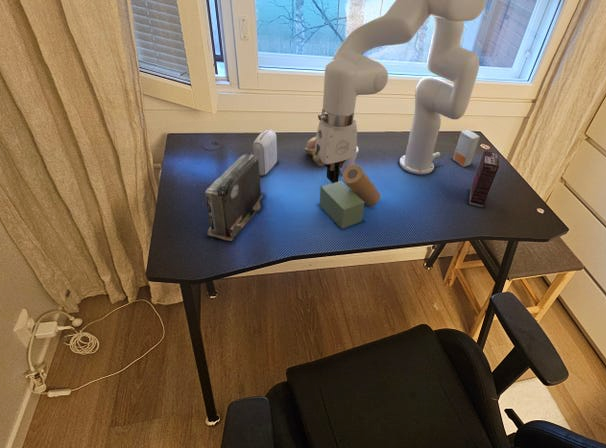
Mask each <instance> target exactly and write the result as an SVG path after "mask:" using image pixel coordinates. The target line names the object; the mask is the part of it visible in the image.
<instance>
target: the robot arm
mask: <svg viewBox="0 0 606 448" xmlns="http://www.w3.org/2000/svg"><path fill="white" fill-rule="evenodd" d="M486 5H487V0H395V1H394V2H393V3H392V5H391V6H390V7H389V9H388V10H387V11H386V13H384V14H383V15H381V16H380V17H377V18H374V19H372V20H370V21H368V22H366V23H364V24H362V25H360V26H358V27H357V28H355V29H354V30H352V31H351V32H350V33H348V35H347V36H346V38H345V39H344V40H343V41H342V43H341V44H340V46H339V47H338V48H337V49H336V51H335V53H334V55H333V57H332V60H331V61H329V62H327V63H326V64H325V68H324V78H323V79H324V80H323V96H322V97H323V98H322V109H321V113H320V114H318V115H317V117H318V118H317V119H318V120H319V122H318V126H317V131H316V134H315V135H316V136H315V137H316V142H315V156H316V161H314V164H315V163H316V164H315V165H317V166H318V167H324V166H325V167H326V179H327V180H328V181H330V183H335V182H338V181H340V180H339V179H340V174H341V168H342V166H343V164H344V162H345V161H346V160H348V159H351V158H353V157H354V156H355V155H356V149H357V147H358V128H357V121H356V120H355V119H354V118H355V112H356V102H357V97H358V96H368V95H369V96H370V95H375V94H378V93H380V92H382V91H383V90H384V89H385V87H386V85H387V84H388V81H389V73H388V70H387V68H386V67H385V66H384V65H383V64H382V63H381V62H379V61H377V60H375V59H373V58H370V57H367V56H366V55H364V54H366V53H368V52H369V51H370V50H373V49H376V48H379V47H387V46H388V47H389V46H396V45H403V44H404V45H405V44H407V43H410V42H411V41H412V40H413V38H414V37H415V35H417V33H418V32H419V30H420V29H421V28H422V26H423V25H424V24H425V22H426V21H427V20H428V18H429V17H430V16H433V20H434V21H433V22H434V23H433V31H432V36H431V40H430V45H429V49H428V54H427V60H426V68H427V70H428V71H429V72H430V73H432V74H433V75H435V76H438V77H434V76H424V77H422V78H421V79H419V81H418V83H417V84H416V87H415V90H414V108H413V109H414V110H413V117H412V121H411V126H410V131H409V136H408V140H407V144H406V151H405V154H403V155H402V156H400V158H399V166H400V167H401V168H402V169H403V170H405V171H406V172H407V173H411V174H415V175H421V176H423V175H429V174H430V173H432V172H433V171H434V169H435V163H434V162H433V161H434V160H435V159H438V158H440V157H441V153H440V152H439V151H437V152H435V153H434V151H435V148H436V144H437V141H438V136H439V133H440V129H441V125H442V119H441V118H442V117H441V116H443V117H446V118H447V119H450V120H459V119H460V118H462V117H463V116H464V115H465V113H466V111H467V109H468V106H469V103H470V101H471V97H472V94H473V90H474V88H475V83H476V80H477V78H478V74H479V70H480V59H479V56H478V55H477V53H475V52H474V51H472V50H469V49H467V48H464V47H462V46H461V41H462V39H463V38H462V37H463V33H464V28H465V24H464V23H465V22H471V21H473V20H476V19H478V17H480V15H481V14H482V13H483V11H484V9H485V7H486ZM439 77H440V78H439ZM441 78H443V79H446V80H447V81H450V82H452V83H453V84H452V83H449V82H447V81H445V80H443V79H441Z"/></svg>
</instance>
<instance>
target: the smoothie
mask: <svg viewBox="0 0 606 448" xmlns="http://www.w3.org/2000/svg"><path fill="white" fill-rule="evenodd" d="M359 149H360V148H359V147H358V146H357V149H356V155H355V156H354V157H353V158H351V159H348V160H346V161H345V162H344V164H343V166H342V168H341V169H340V174H341V175H342V176H343V173H344V171H345V170H346V169H347V168H348V167H349V166H352V165H356V164H355V163H356V160H357V155H358V154H359V152H360V151H359Z"/></svg>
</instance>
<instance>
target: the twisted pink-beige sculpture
mask: <svg viewBox="0 0 606 448" xmlns="http://www.w3.org/2000/svg"><path fill="white" fill-rule="evenodd" d="M315 142H316V136H314V137H312V138H310V139H309V140H308V141H307V142H306V147H305V148H303V150H304V151H305V152H306V153H307V154H309V155H311V156H312V161H314V164H315V165H317V164H316V163H315V161H316V156H315Z"/></svg>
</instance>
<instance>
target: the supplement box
mask: <svg viewBox="0 0 606 448" xmlns="http://www.w3.org/2000/svg"><path fill="white" fill-rule="evenodd" d="M499 162H500V161H499V153H498V152H497V153H496V152H493V151H490V150H489V151H488V150H484V151H483V153H482V156H481V159H480V161H479V164H478V168H477V170H476V173H475V175H474V178H473V181H472V183H471V184H472V185H471V186H470V189H469V202H468V203H469V205H472V206H475V207H480V208H483V207H484V205H485V202H486V200H487V198H488V195H489V193H490V190H491V188H492V185H493V183H494V180H495V177H496V175H497V173H498V171H499V168H500V163H499Z"/></svg>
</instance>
